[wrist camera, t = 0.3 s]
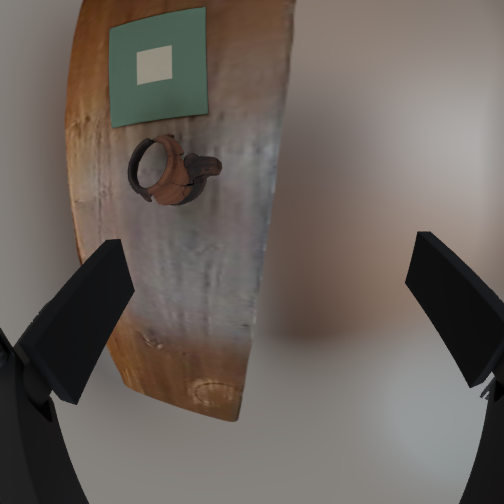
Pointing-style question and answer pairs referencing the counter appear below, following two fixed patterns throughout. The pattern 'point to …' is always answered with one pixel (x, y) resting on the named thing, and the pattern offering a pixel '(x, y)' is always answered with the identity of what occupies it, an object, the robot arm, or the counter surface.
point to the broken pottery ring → (174, 173)
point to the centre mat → (158, 68)
